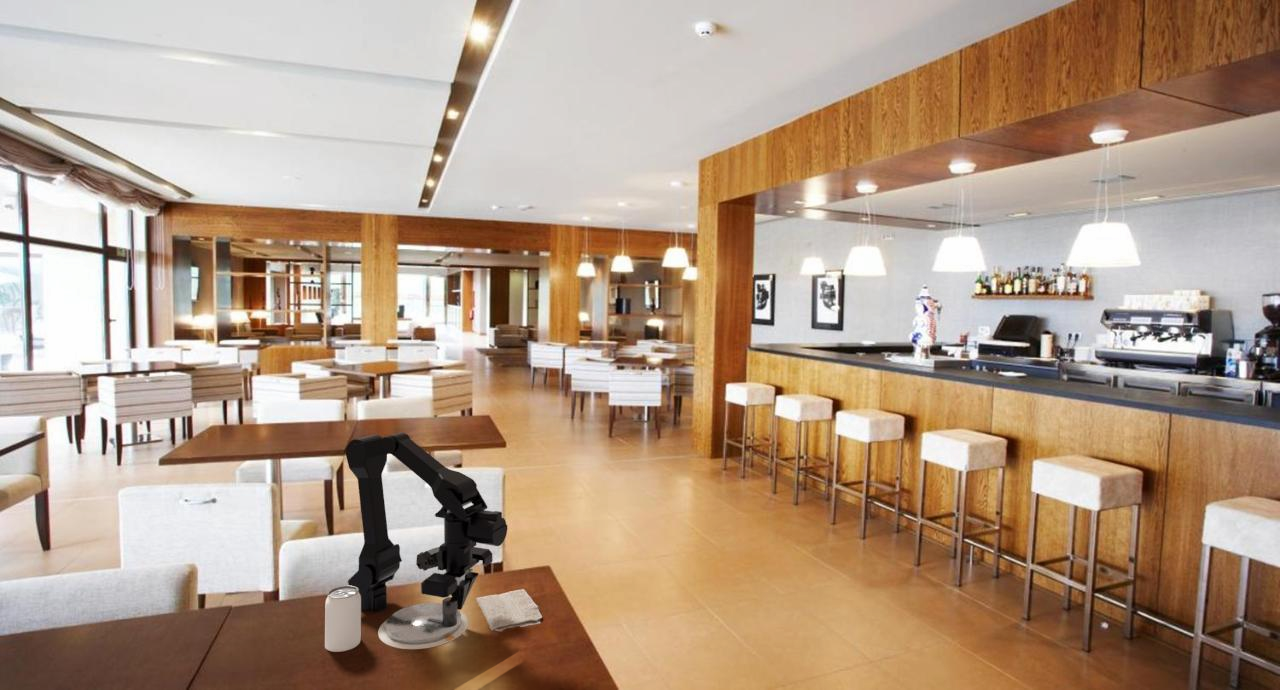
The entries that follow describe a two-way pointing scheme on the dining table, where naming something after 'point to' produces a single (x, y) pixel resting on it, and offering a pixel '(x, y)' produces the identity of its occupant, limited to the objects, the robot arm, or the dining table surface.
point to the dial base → (392, 643)
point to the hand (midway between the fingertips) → (458, 609)
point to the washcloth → (509, 610)
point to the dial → (424, 622)
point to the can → (342, 619)
